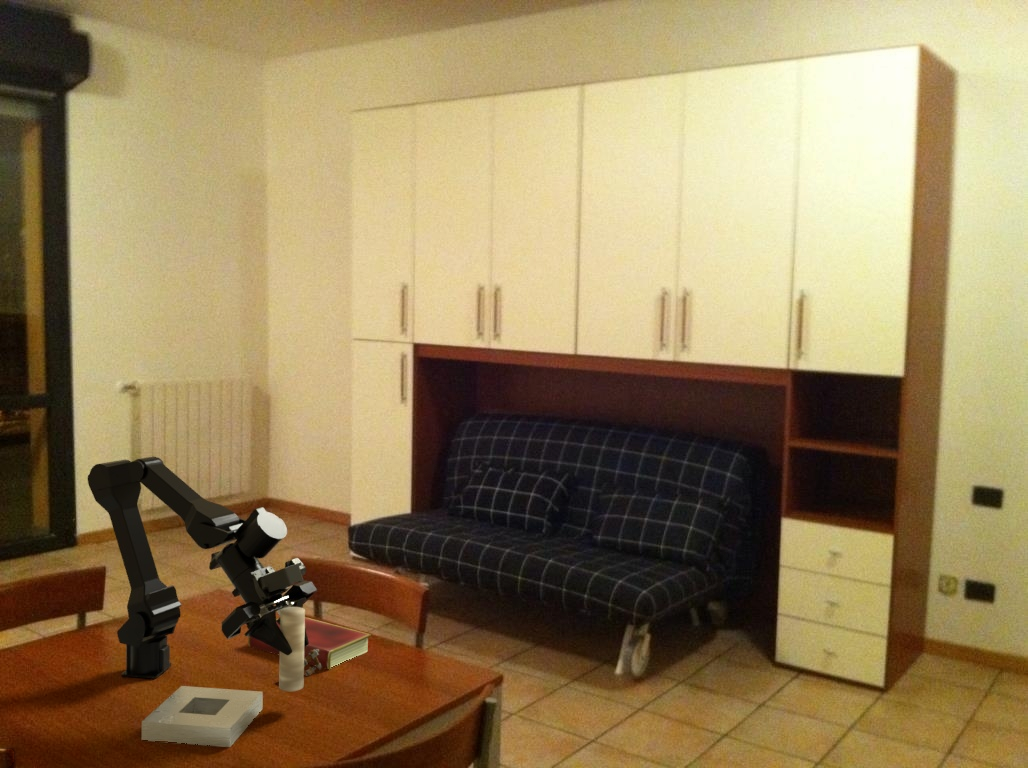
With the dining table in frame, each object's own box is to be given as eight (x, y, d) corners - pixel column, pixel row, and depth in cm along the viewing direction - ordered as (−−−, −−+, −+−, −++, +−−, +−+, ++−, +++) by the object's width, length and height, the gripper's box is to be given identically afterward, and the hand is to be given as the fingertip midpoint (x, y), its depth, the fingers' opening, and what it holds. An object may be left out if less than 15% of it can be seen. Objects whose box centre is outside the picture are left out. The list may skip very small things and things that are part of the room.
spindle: (275, 690, 158) (276, 613, 156) (283, 681, 162) (284, 606, 160) (299, 692, 157) (300, 615, 156) (306, 682, 161) (308, 607, 160)
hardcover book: (328, 672, 177) (329, 650, 177) (247, 648, 188) (248, 628, 187) (370, 653, 187) (370, 632, 187) (291, 632, 198) (291, 612, 198)
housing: (141, 740, 146) (141, 721, 146) (181, 703, 160) (181, 685, 160) (229, 747, 145) (230, 728, 145) (262, 709, 159) (262, 691, 159)
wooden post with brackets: (328, 666, 176) (320, 647, 175) (293, 694, 171) (285, 674, 170) (322, 664, 178) (314, 644, 176) (288, 691, 173) (279, 672, 171)
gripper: (236, 558, 151) (291, 639, 147) (309, 534, 168) (360, 606, 164) (197, 599, 155) (250, 678, 151) (273, 571, 172) (321, 643, 168)
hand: (298, 649), depth 158 cm, fingers closed on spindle, 4 cm apart
